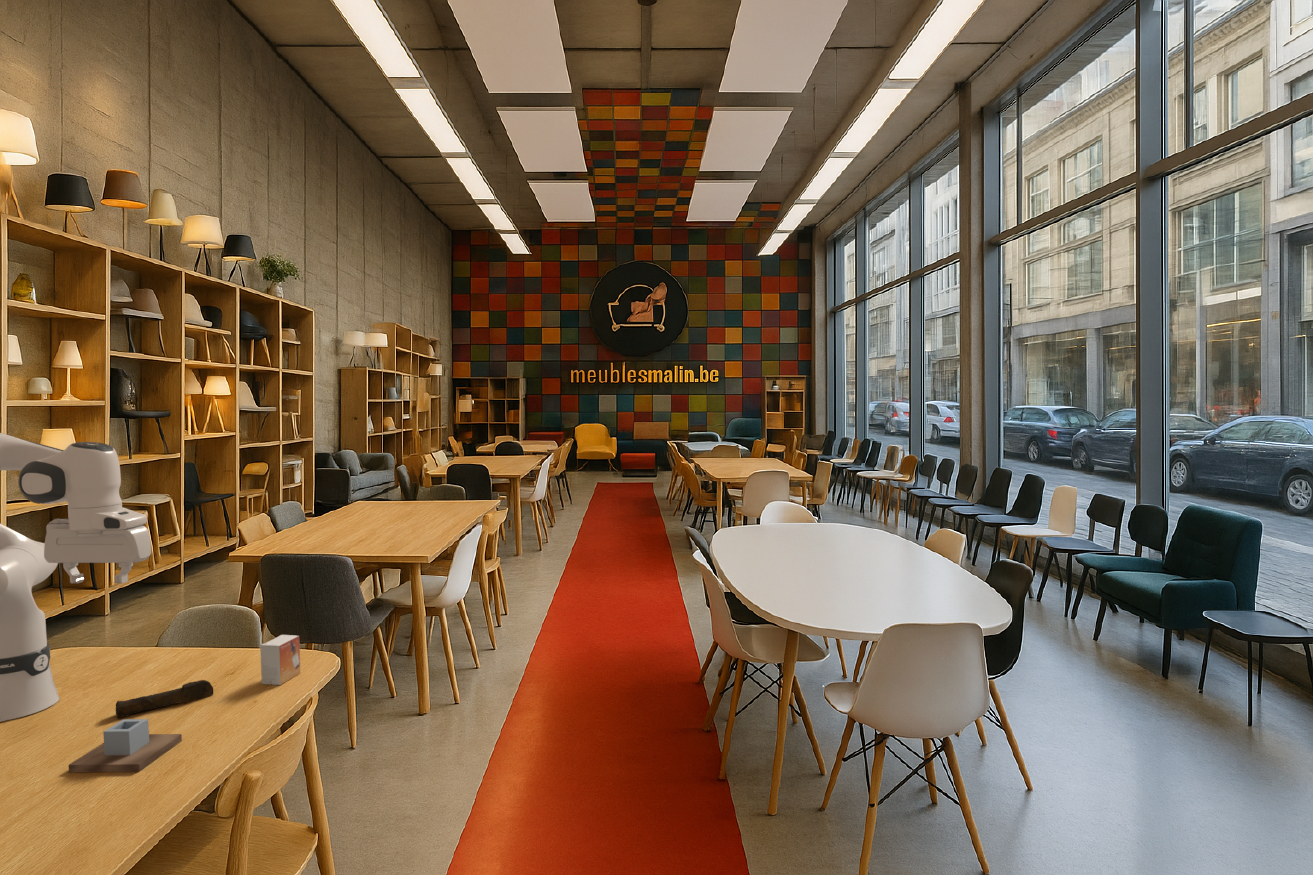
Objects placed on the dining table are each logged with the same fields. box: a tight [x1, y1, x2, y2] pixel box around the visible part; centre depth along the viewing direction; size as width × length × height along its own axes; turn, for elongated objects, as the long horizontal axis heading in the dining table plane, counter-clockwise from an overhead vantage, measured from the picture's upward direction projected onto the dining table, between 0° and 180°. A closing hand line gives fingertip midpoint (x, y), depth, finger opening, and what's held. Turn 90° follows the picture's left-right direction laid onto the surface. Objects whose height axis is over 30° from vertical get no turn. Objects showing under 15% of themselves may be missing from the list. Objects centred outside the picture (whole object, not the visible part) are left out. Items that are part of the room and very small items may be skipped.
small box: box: [259, 634, 301, 686], centre depth 177 cm, size 8×6×10 cm
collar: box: [102, 718, 150, 755], centre depth 139 cm, size 5×5×5 cm
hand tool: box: [115, 679, 214, 720], centre depth 161 cm, size 19×4×5 cm, turn 125°
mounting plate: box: [68, 733, 183, 773], centre depth 139 cm, size 14×12×5 cm
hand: (99, 582), depth 143 cm, fingers open, 8 cm apart
